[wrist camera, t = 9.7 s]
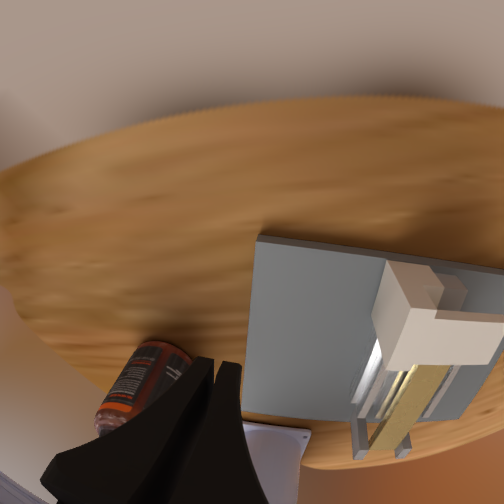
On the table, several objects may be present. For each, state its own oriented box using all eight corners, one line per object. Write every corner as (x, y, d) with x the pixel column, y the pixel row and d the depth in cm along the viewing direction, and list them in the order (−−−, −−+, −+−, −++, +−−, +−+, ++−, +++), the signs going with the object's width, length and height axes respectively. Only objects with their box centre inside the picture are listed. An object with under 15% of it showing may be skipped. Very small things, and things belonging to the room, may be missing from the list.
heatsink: (424, 391, 22) (432, 417, 19) (349, 389, 23) (352, 417, 20) (458, 326, 19) (472, 351, 16) (375, 319, 20) (383, 348, 17)
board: (455, 410, 24) (469, 453, 19) (243, 400, 27) (230, 452, 21) (528, 273, 18) (566, 311, 12) (258, 234, 20) (242, 277, 15)
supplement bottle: (126, 355, 27) (66, 446, 16) (159, 325, 24) (92, 433, 14) (174, 394, 28) (132, 490, 18) (213, 370, 26) (172, 484, 15)
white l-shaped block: (456, 321, 19) (484, 370, 14) (370, 314, 20) (385, 370, 15) (476, 272, 17) (513, 315, 12) (386, 259, 18) (411, 307, 13)
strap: (394, 442, 20) (395, 449, 20) (368, 442, 21) (368, 450, 20) (466, 315, 15) (471, 323, 14) (435, 313, 15) (439, 321, 15)
